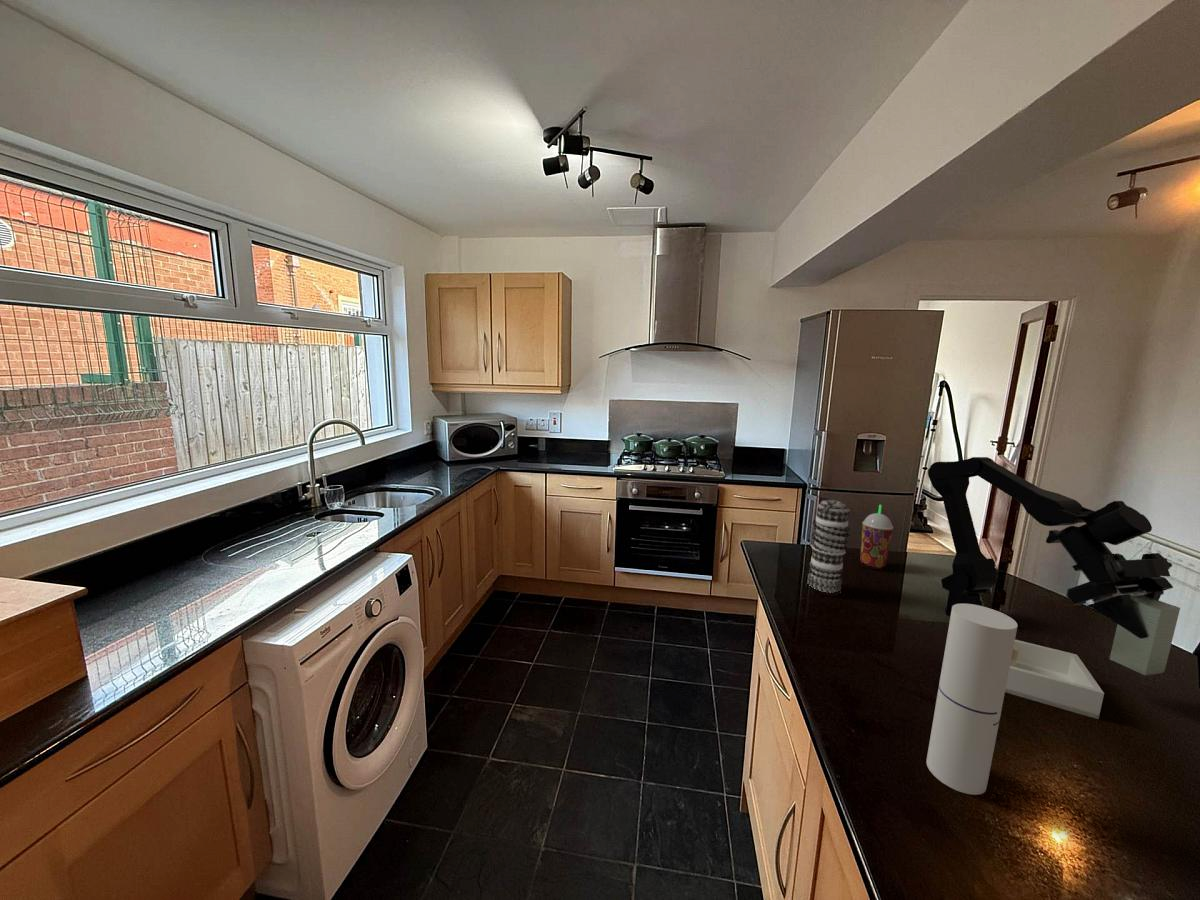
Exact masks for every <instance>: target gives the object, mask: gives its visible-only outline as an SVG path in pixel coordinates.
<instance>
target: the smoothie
mask: <svg viewBox="0 0 1200 900" xmlns="http://www.w3.org/2000/svg"><path fill="white" fill-rule="evenodd" d="M861 524H862V526H861V541H860V542H861V543H860V559H859V561H860V562H861V564H862V563H864V564H866V565H868V566H872V567H876V568H882V567H883V568H884V567H886V562H887V559H888V553H889V549H890V544H891V540H892V537H893V532H894V530H893V529H894V526H893V524H892V521H891V518H889V517H888V516H887V515H885V514H883V513H882V504H879V505H878V511H877V512H874V513H871V514H868V515H867V516H866V517H865V519H864V520H863V521H862V523H861Z"/></svg>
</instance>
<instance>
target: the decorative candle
mask: <svg viewBox="0 0 1200 900" xmlns="http://www.w3.org/2000/svg"><path fill="white" fill-rule="evenodd" d="M816 507H817V512H816V513H817V514H816V516H815V519H814V520H813V521H812V525H813V527H812V530H811V531H812V534H811V538H812V541H811V549H812V555H811V557H810V558H811V559H810V562H809V563H808V564H809V568H808V572H809V573H808V574H807V580H806V582H807V584H809V586H811V587H812V588H814V589H816V590H819V591H821V592H826V593H828V592H829V593H834V592H838V591H840V592H841V589H842V584H843V580H842V578H843V576H844V575H843V572H844V567H843V566H844V562H843V561H844V555H845V554H846V552H847V551H846V549H847V548H848V546H846V545H847V544H848V542H849V541H848V540H847V539H846V538H848V537H849V536H850V534H849V533H848V532H850V530H851V529H850V527H849V515H850V514H849V513H850V511H851V509H850V508H849V507H848V506H847V504H846V503H845V502H844V501H840V500H836V499H823V500H822V501H820V502H819V503H817V504H816Z"/></svg>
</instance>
